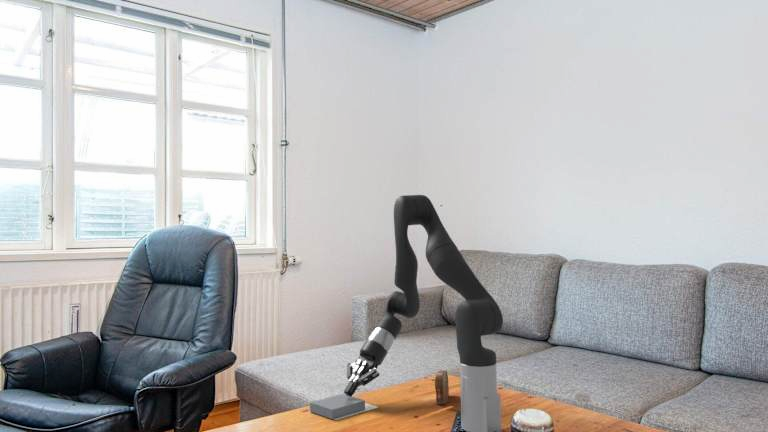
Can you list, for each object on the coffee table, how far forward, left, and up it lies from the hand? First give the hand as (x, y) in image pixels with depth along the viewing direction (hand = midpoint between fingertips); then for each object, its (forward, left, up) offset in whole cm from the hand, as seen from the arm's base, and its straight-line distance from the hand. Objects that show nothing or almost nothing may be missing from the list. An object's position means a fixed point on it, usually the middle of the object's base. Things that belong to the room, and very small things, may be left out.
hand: (347, 394), depth 161 cm
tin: (-14, -26, -5) cm, 30 cm away
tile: (0, -2, -2) cm, 3 cm away
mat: (0, +1, -4) cm, 5 cm away
